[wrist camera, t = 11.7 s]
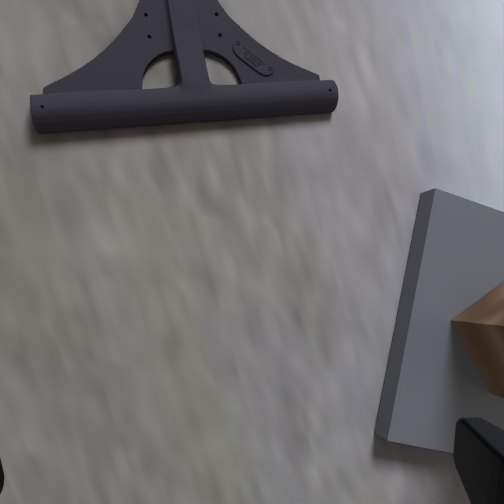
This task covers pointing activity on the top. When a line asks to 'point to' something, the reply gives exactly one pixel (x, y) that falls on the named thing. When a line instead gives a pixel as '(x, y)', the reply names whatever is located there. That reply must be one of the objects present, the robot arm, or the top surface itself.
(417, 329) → the far plate
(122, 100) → the squeegee
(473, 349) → the walnut block
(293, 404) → the top surface
